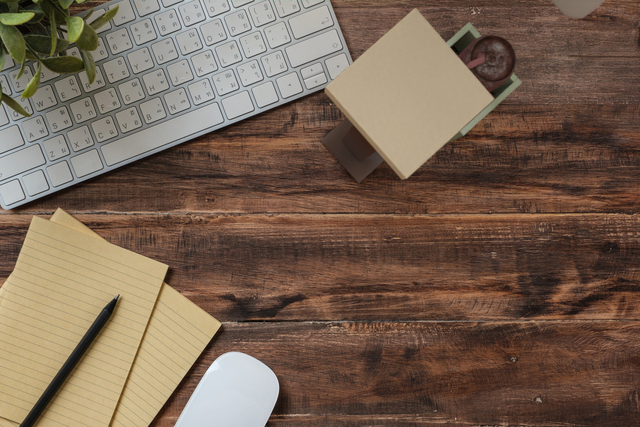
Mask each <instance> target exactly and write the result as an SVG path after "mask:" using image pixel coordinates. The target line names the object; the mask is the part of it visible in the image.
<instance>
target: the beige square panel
mask: <svg viewBox="0 0 640 427" xmlns="http://www.w3.org/2000/svg"><path fill="white" fill-rule="evenodd" d="M446 42H447V41H445V40H444V39H443V38H442V36H441V35H440V34H439V33H438V32H437V30H436V29H435V28H434V27H433V26H432V25H431V23H430V22H429V21H428V20H427V18H425V17H424V15H423V14H422V13H421V12H420V11H419V9H417V7H414V8H413V9H412V10H410V11H409V12H408V13H407V14H406V15H405V16H404V17H403V18H401V19H400V20H399V21H398V22H397V23H396V24H394V26H392V28H390V29H389V30H388V31H386V33H384V34H383V36H381V37H380V38H379V39H378V40H377V41H375V43H374V44H372V45H371V46H370V47H368V48H367V49H366V50H365V51H364V52H363V53H362V54H361V55H360V56H358V57H357V58H356V59H355V60H354V61H353V62H352V63H351V64H350V65H348V66H347V67H346V68H345V69H344V70H342V71H341V72H340V73H339V74H338V75H337V76H336V77H334V79H332V80H331V81H330V82H328V84H327V85H326V86H325V87H324V91H323V92H324V94H326V96H327V97H328V98H329V99H330V100H331V101H332V103H334V104H335V106H336V107H337V108H338V109H339V111H341V113H342V114H343V115H344V116H345V118H346V117H347V118H348V119H349V120H350V121H351V123H352V124H353V125H354V126H355V127H356V128H357V129H358V130H359V132H360V133H361V134H362V135H363V136H364V137H365V138H366V139H367V141H368V142H369V143H370V144H371V145H372V146H373V147H374V149H375V150H376V151H377V152H378V153H379V154H380V155H381V156H382V158H383V159H384V161H385V162H386V163H387V164H388V166H389V167H390V169H392V170H393V172H395V174H396V175H397V176H398V177H399V179H401V181H402V180H406V179H408V178H410V177H411V176H412V175H413V174H414V173H415V172H416V171H418V169H419V168H421V167H422V166H423V165H424V164H425V163H426V162H427V161H428V160H429V159H431V157H432V156H434V155H435V154H436V153H437V152H438V151H440V150H441V148H442V147H444V146H445V145H446V144H447V143H449V142H448V141H449V140H450V139H451V138H452V137H453V136H454V135H456V134H457V133H458V132H459V131H460V130H461V129H462V128H463V127H464V126H466V125H467V124H468V123H469V122H470V121H471V120H472V119H473V118H474V117H475V116H477V115H478V114H479V113H480V112H481V111H482V110H483V109H484V108H485V107H486V106H488V105H489V104H490V103H491V102H492V101H493V100H494V98H493V97H492V95H493V94H491V92H488V91H487V90H486V88H485V87H484V86H483V85H482V84H481V83H480V81H479V80H478V79H477V78H476V77H475V76H474V75H473V73H472V72H471V71H470V70H469V69H468V68H467V66H466V65H465V64H464V63H463V62H462V61H461V60H460V58H459V57H458V54H457V53H455V51H454V50H453V49H452V48H450V47H449V46H448V44H447V43H446Z"/></svg>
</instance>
